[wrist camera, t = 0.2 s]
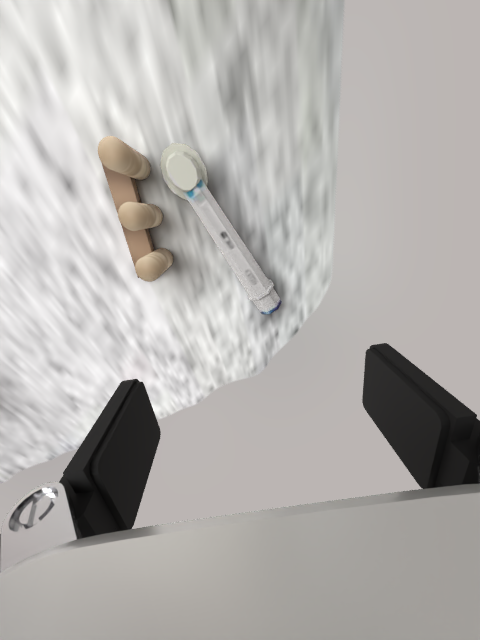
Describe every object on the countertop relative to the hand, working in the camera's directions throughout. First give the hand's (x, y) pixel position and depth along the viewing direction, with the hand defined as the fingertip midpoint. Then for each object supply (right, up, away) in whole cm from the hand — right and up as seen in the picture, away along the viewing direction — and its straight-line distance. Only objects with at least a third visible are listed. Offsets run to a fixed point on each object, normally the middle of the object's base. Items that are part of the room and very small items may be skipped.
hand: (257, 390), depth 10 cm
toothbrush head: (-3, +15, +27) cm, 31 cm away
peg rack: (-14, +18, +25) cm, 34 cm away
